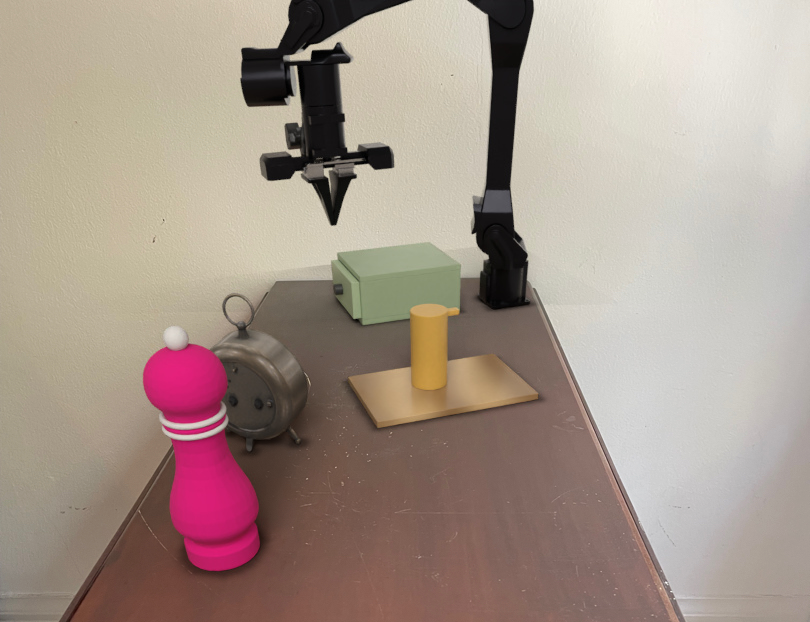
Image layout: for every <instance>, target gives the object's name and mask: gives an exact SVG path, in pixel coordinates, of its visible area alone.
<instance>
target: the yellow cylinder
mask: <svg viewBox="0 0 810 622" xmlns="http://www.w3.org/2000/svg"><path fill="white" fill-rule="evenodd" d="M459 315H460V311H459V309H458V308H456V307H454V308H446V307H445V306H442V305H438V304H421V305H417V306H414V307H412V308H411V309H410V319H409V332H410V333H409V334H410V367H411V383H412V385H413V386H414V387H416V388H418V389H422V390H436V389H440V388H442V387H444V386H445V385H446V384H447V361H448V355H449V354H448V350H449V349H448V346H449V345H448V343H449V342H448V340H449V317H452V316H459Z"/></svg>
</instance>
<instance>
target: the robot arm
mask: <svg viewBox="0 0 810 622" xmlns="http://www.w3.org/2000/svg"><path fill="white" fill-rule="evenodd" d="M413 1H414V0H290V2H289V5H288V9H287V10H288V11H287V19H288V24H287V26H286V29H285V30H284V33H283V36H282V38H281V39H280V41H279V43H278V46H277V47H262V48H259V47H255V46H245V47H241V48H240V53H241V54H240V55H241V63H240V76H241V77H240V78H239V80H240V82H239V83H240V87H241V92H242V96H243V99H244V102H245V105H246V106H247V107H248V108H260V107H261V108H264V107H284V106H285V107H287V106H290V104H291V97H292V98H295V97H296V96H297V92H298V91H297V89H298V90H299V99H300V108H301V112H300V115H301V117H300V118H301V126H299V123H298V122H297V121H295V122H286V123H284V135H285V142H286V147H287V150H288V151H291V150H299V152H300V153H299V154H300V156H299V155H298V156H293V155H292V154H291V153H289V152H287V151H286V150H284V151H273V152H265V153H262V154H261V155H260V157H259V166H260V175H261V176H262V177H263V179H265V180H266V181H267V182H275V181H276V182H277V181H285V180H291V179H292V177H293V176H294V175H295V173H296V172H301V173H300V178H301V179H302V180H303V181H305V182H306V183H307V184H311V186H312V187H313V189H314V191H315V193H316V195H317V196H318V199H319V201H320V204H321V206H322V208H323V211H324V213H325V216H326V218H327V221H328V223H329V225H330V226H331V227H335V226H338V221H339V218H340V214H341V211H342V207H343V202H344V200H345V197H346V194H347V192H348V189H349V187H350V184H351V182H352V180H356V179H358V173H355V168H356V167H355V166H361V165H363V166H364V165H369V166H370V168H372V169H373V170H374V171H378V170H379V171H380V170H389V169H394V168H395V154H394V150H393V149H392V147H391V146H390V145H389V144H385V143H383V142H381V141H378V142H370V143H358V145H357V149H356V150H351V151H349V150H348V146H347V144H346V143H347V142H346V132H345V131H346V130H345V123H346V115H345V113H344V108H343V107H344V105H343V94H342V83H341V81H342V80H341V69H340V65H344V64H345V65H347V64H348V65H349V64H351V63H353V61H354V56H353V55H352V54H351V53H350V52H349V51H348V50H347V49H346V48H345V46H344V44H343V42H342V41H337V42H336V43H335V45H334V47H333V48H324V49H312V50H311V53H310V59H291V56H293V55H297V54H301V53H304V52H305V51H306V50H308V48H309V47H310V46H313V45H319V44H322V43H323V44H324V43H325V42H328V41H329V40H331V39H332V38H335V37H337V36H338V35H339V34H341V33H342V32H344V31H346V30H347V29H349V28H350V27H352V26H353V25H355V24H357V23H359V22H360V21H362V20H364V19H366V18H367V17H370V16H373V15H376V14H378V13H381V12H385V11H387V10H391V9H393V8H396V7H399V6H402V5H404V4H408V3H410V2H413ZM466 1H467V2H468V3H470V4H471V5H473V6H474V7H475V8H476V9H478V10H479V11H480V12H482V13H483V14H484V15H485V21H486V30H487V43H488V51H489V60H490V62H489V63H490V70H491V71H490V85H489V86H490V89H489V104H488V106H489V107H488V123H487V140H486V157H485V172H484V173H485V175H484V184H483V188H482V191H481V195H480V196H479V195H474V194H473V195H472V196H471V201H472V210H473V213H472V218H471V220H470V233H471V235H475V240H476V241H475V242H476V245H477V247H478V249H479V250H480V251H481V252H482V253H483V254H486V256H487V257H488V258H487V259H483V263H482V270H480V271H479V291H478V293H477V298H478V299H480V300H481V301H482V302H483V303H484V304H486V305H487V306H489V307H490V308H491V309H496V310H497V309H503V308H509V307H516V306H524V305H530V304H531V299H530V298H528V297H527V285H528V274H529V260H528V258H529V254H528V251H527V247H526V243H525V240H524V238H523V237H522V236H521V235H520V233H518V231H516V229H515V219H514V207H513V198H512V189H511V188H512V186H511V184H512V171H513V159H514V158H513V157H514V147H515V146H514V145H515V132H516V120H517V106H518V95H519V93H518V92H519V81H520V71H521V67H522V63H523V60H524V56H525V52H526V48H527V45H528V40H529V35H530V32H531V27H532V22H533V19H534V15H535V3H534V0H466ZM295 67H296V69H295ZM295 71H296V72H297V75H296V72H295ZM296 76H297V77H296ZM297 81H298V86H297ZM325 169H330V170H328V177H327V176H326V175H325Z"/></svg>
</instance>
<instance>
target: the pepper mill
mask: <svg viewBox="0 0 810 622" xmlns="http://www.w3.org/2000/svg"><path fill="white" fill-rule="evenodd" d="M162 340H163V341H162V342H163V343H164V347H162V348H159V349H158V350H157V351H155V353H153V354H152V355H151V356H150V357H149V358H148V360H147V362H146V363H145V365H144V368H143V371H142V386H143V391H144V393H145V396H146V398H147V400H148V401H149V403H150V404H151V405H152V406H153V407H154V408H155V409H157V410H159V411H160V412H159V414H158V421H159V422H160V423H161V430H162V433H163V434H164V435H165V436H166V437H168V438H169V439H170V441H171V444H172V447H173V453H174V458H175V471H174V476H173V477H174V478H173V482H172V486H171V490H170V494H169V513H170V514H169V515H170V518H171V523H172V525H173V527H174V529H175V530H176V531H177V532H178V533H179V535H182V537H183V543H184V547H185V548H184V549H185V551H186V555H187V558H188V561H189V562H190V563H191V564H192V565H193V566H195V567H197V568H199V569H201V570H204V571H210V572H221V571H223V572H224V571H228V570H233V569H236V568H239V567H241V566H243V565H245V564H246V563H248V562H249V561H251V560H252V559H253V558H254V557H255V556H256V554H257V553H259V549H260V547H261V546H260V545H261V541H260V535H259V529H258V526H257V524H256V522H255V521H256V519H257V518H258V515H259V511H260V505H259V504H260V503H259V499H258V496H257V493H256V490H255V488H254V486H253V484H252V482H251V480H250V479H249V477H248V476H247V475H246V473H245V472H244V470H242V468H241V466H240V465H239V464H238V462H237V461H236V459H235V458H234V456H233V454H232V452H231V450H230V447H229V444H228V441H227V437H226V430H225V429H226V426H227V424H228V416H227V414H226V406H225V404H224V403H223V402H222V401H221V400H222V399H223V397H224V396H225V393H226V391H227V386H228V382H227V375H226V371H225V369H224V366H223V364H222V363H221V361H220V360H219V358H218V357H217V356H216V355H215V354H214V353H213V352H212V351H210V348H207V347H204V346H203V345H200V344H196V343H190V337H189V334H188V332H187V331H186V329H184V328H183V327H182V326H180V325H170V326H168V327H167V328H165V329H164V331H163V333H162Z"/></svg>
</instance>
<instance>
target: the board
mask: <svg viewBox="0 0 810 622" xmlns="http://www.w3.org/2000/svg"><path fill="white" fill-rule="evenodd" d="M347 383H348V384H349V386H350V387H351V390H352V391H353V392H354V394H355V395H356V397H357V398H358V400H359V402H360V403H361V405H362V406H363V408H364V409H365V411H366V412H367V414H368V416H369V417H370V418H371V421H372V422H373V424H374V425H375V426H376V428H377V429H381V428H386V427H392V426H397V425H402V424H408V423H414V422H419V421H426V420H430V419H437V418H441V417H448V416H453V415H458V414H464V413H469V412H475V411H480V410H481V411H482V410H485V409H490V408H491V409H492V408H497V407H498V408H499V407H502V406H503V407H504V406H509V405H514V404H519V403H525V402H530V401H536V400H538V399H539V392H538V391H537V390H535V389H534V387H532V386H531V385H530V384H529V383H528V382H526V381H525V380H524V379H523V378H522V377H521V376H520V375H518V373H516V372H515V371H514V370H513V369H512V368H511V367H509V366H508V365H507V364H506V363H505V362H504V361H502V360H501V358H499V357H498V356H497V355H496V354H495V353H488V354H481V355H476V356H469V357H462V358H458V359H451V360H450V359H449V360H447V384H446V385H445V386H444V387H442V388H440V389H436V390H422V389H418V388H416V387H414V386H413V385H412V383H411V366H407V367H400V368H394V369H388V370H381V371H376V372H370V373H364V374H357V375H351V376H348V377H347Z"/></svg>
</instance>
